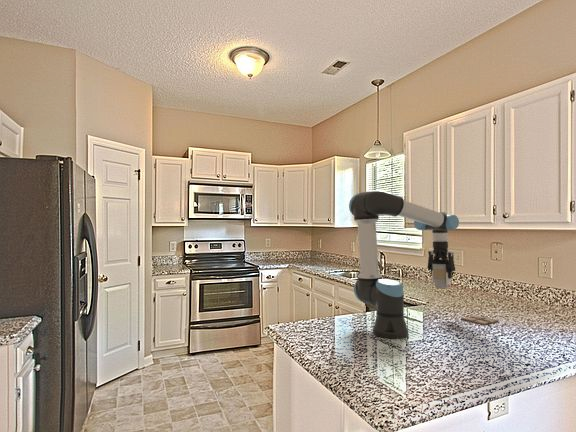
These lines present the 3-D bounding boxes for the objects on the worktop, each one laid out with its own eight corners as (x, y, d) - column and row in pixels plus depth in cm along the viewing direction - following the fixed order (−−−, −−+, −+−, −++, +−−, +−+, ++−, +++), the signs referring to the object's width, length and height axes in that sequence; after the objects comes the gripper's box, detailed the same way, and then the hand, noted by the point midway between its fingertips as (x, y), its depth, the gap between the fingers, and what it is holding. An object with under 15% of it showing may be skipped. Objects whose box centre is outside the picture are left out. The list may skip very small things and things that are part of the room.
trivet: (483, 325, 169) (483, 322, 169) (461, 319, 180) (461, 317, 180) (498, 321, 175) (498, 319, 175) (475, 316, 186) (475, 314, 186)
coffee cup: (448, 289, 181) (448, 260, 182) (429, 288, 187) (429, 259, 188) (452, 287, 189) (451, 259, 190) (434, 285, 195) (433, 258, 195)
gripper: (462, 241, 182) (463, 285, 181) (428, 240, 200) (429, 280, 199) (453, 241, 178) (454, 286, 177) (419, 240, 196) (420, 281, 195)
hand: (441, 283), depth 188 cm, fingers closed on coffee cup, 8 cm apart
